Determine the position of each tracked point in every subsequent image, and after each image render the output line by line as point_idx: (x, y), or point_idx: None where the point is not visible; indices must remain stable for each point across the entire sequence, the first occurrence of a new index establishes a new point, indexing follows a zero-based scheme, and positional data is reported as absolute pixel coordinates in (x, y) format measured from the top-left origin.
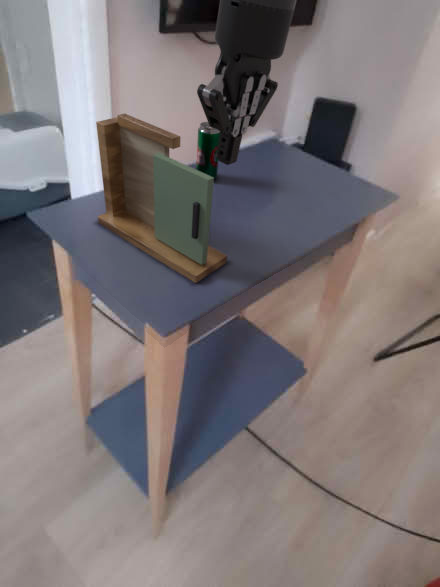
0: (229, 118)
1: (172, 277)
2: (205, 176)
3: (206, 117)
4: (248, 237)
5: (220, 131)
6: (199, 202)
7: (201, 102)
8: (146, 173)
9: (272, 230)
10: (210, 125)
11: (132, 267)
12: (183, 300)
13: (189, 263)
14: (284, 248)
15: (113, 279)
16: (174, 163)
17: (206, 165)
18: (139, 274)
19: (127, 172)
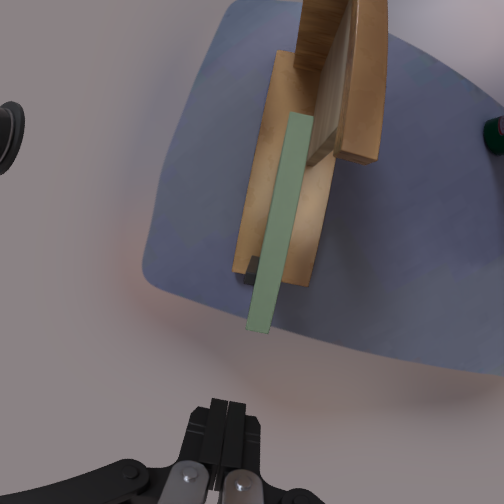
0: (223, 500)
1: (225, 231)
2: (258, 314)
3: (86, 473)
4: (388, 280)
5: (170, 467)
6: (254, 283)
7: (27, 492)
8: (331, 87)
9: (421, 302)
10: (117, 464)
11: (210, 167)
12: (192, 272)
13: (253, 246)
14: (385, 337)
15: (173, 164)
16: (277, 196)
17: (501, 138)
18: (203, 186)
19: (334, 45)
